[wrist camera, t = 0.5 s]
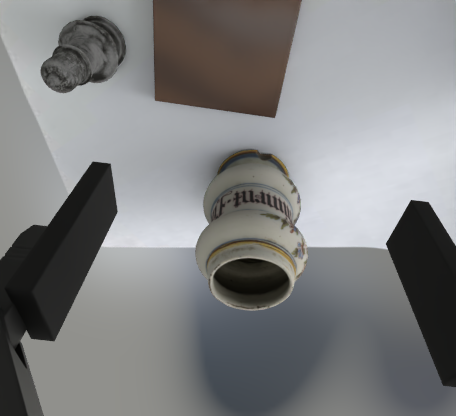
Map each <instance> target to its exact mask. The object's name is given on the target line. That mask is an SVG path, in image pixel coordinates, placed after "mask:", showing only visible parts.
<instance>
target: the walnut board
mask: <svg viewBox="0 0 456 416" xmlns="http://www.w3.org/2000/svg"><path fill="white" fill-rule="evenodd" d="M301 1H302V0H153V19H154V72H155V101H162V102H169V103H176V104H183V105H189V106H196V107H203V108H210V109H217V110H224V111H231V112H238V113H245V114H251V115H258V116H265V117H272V118H275V116H276V111H277V107H278V102H279V98H280V94H281V89H282V85H283V80H284V76H285V72H286V67H287V63H288V58H289V54H290V50H291V45H292V41H293V36H294V32H295V28H296V23H297V19H298V14H299V10H300V6H301Z"/></svg>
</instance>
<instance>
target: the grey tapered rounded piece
mask: <svg viewBox="0 0 456 416" xmlns="http://www.w3.org/2000/svg"><path fill="white" fill-rule="evenodd" d="M58 43H59V46H58V47H57V48H56V49H55V50H54V52H53V55H52V57H51V58H49V59H47V60H46V61H45V62H44V63H43V65H42V67H41V76H42V78H43V80H44V82H45V83H46V85H47V86H48V87H50V88H51V89H52V90H54V91H56V92H59V93H67V92H70V91H72V90H73V89H74V88H75V87H76V86H78V85H84V84H86V83H88V82H92V83H101V82H104V81H107V80H108V79H110V78H111V77H112V76H113V75H114V73H115V72H116V70H117V67H118V65H119V64H120V63H121V62H122V61H123V59H124V56H125V49H126V46H125V42H124V38H123V36H122V34H121V32H120V31H119V30H118V28H117V27H116V26H115V25H114V24H113V23H112V22H111V21H109V20H107V19H105V18H102V17H99V16H90V17H88V18H85V19H84V20H76V21H73V22H70V23H68V24H67V25H66V26H65V27H64V28H63V29H62V31H61V33H60V35H59V41H58Z"/></svg>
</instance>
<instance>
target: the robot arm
mask: <svg viewBox="0 0 456 416" xmlns="http://www.w3.org/2000/svg"><path fill="white" fill-rule="evenodd" d="M117 212H118V211H117V205H116V198H115V191H114V184H113V177H112V171H111V164H108V163H100V162H92V163H91V165H90V166H89V168H88V169H87V171H86V172H85V173H84V175H83V176H82V178H81V179H80V181H79V182H78V183H77V185H76V186H75V188H74V189H73V191H72V192H71V193H70V195H69V196H68V198H67V199H66V201H65V202H64V204H63V205H62V206H61V208H60V209H59V211H58V212H57V213H56V215H55V216H54V218H53V219H52V221H51V222H50V224H49V225H48V226H40V225H33V226H31V227H30V228H28V229H27V230H26V231H24V232H23V233H21V234H20V235H19V237H18V238H17V239H16V241H15V242H14V243H13V245H12V247H10V248H9V250H8V251H7V252H6V253H5V256H4V257H2V259H1V260H0V416H44V415H43V412H42V409H41V405H40V402H39V398H38V396H37V392H36V389H35V385H34V382H33V379H32V375H31V372H30V369H29V365H28V362H27V359H26V355H25V352H24V349H23V346H22V343H21V342H20V340H21V338H22V337H23V335H24V333H25V331H26V330H27V332H28V333H29V335H30V337H31V339H38V340H47V341H55V339H56V337H57V335H58V333H59V331H60V329H61V327H62V325H63V323H64V321H65V318H66V316H67V314H68V312H69V310H70V308H71V306H72V304H73V302H74V300H75V298H76V296H77V294H78V292H79V290H80V288H81V286H82V284H83V282H84V280H85V277H86V276H87V273H88V271H89V269H90V267H91V265H92V263H93V261H94V259H95V257H96V255H97V253H98V251H99V249H100V247H101V245H102V243H103V241H104V239H105V237H106V235H107V233H108V231H109V229H110V226H111V224H112V222H113V220H114V218H115V216H116V214H117ZM386 245H387V248H388V250H389V253H390V255H391V258H392V260H393V263H394V265H395V267H396V270H397V273H398V275H399V278H400V280H401V282H402V285H403V287H404V290H405V292H406V295H407V297H408V299H409V302H410V305H411V307H412V310H413V312H414V314H415V317H416V319H417V322H418V324H419V327H420V329H421V332H422V334H423V337H424V339H425V342H426V344H427V346H428V349H429V352H430V354H431V357H432V359H433V361H434V364H435V367H436V369H437V371H438V374H439V376H440V379H441V381H442V384H443V386H451V387H456V246H455V244H454V242H453V241H452V239H451V238H450V236H449V234H448V233H447V231H446V230H445V228H444V226H443V225H442V223H441V222H440V220H439V218H438V217H437V215H436V213H435V212H434V210H433V209H432V207H431V205H430V204H429V202H423V201H415V200H411V201H410V203H409V205H408V206H407V208H406V210H405V212H404V213H403V215H402V217H401V219H400V220H399V222H398V224H397V225H396V227H395V229H394V231H393V232H392V234H391V236H390V238H389V239H388V241H387V243H386Z"/></svg>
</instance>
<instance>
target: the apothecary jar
mask: <svg viewBox="0 0 456 416" xmlns="http://www.w3.org/2000/svg"><path fill="white" fill-rule="evenodd" d="M203 207H204V213H205V217H206V219H207V221H208V223H209V225H208V226H207V227H206V228H205V229H204V230H203V232H202V233H201V235H200V237H199V239H198V241H197V244H196V250H195V254H196V261H197V264H198V267H199V269H200V271H201V273H202V274H203V275H204V277H205V278H206V279H207V280H208V284H209V288H210V291H211V293H212V294H213V296H214V297H215V298H216V299H218V300H219V301H221V302H222V303H224V304H226V305H228V306H230V307H233V308H237V309H242V310H262V309H266V308H270V307H273V306H275V305H278V304H280V303H281V302H283V301H284V300H285V299H286V298H287V297H288V296H289V295H290V294H291V292H292V290H293V287H294V282H295V281H297V279H298V278H299V277H300V276H301V274H302V273H303V271H304V269H305V266H306V263H307V258H308V250H307V245H306V242H305V239H304V237H303V235H302V234H301V232H300V231H299V230H298V229H297V228H296V227H295V226H294V225H295V224H296V222H297V220H298V218H299V215H300V210H301V201H300V196H299V193H298V190H297V188H296V186H295V185H294V183H293V182H292V181H291V180H290V179H289V175H288V172H287V169H286V167H285V166H284V164H283V163H282V162H281V161H280V160H279V159H278V158H277V157H275V156H274V155H272V154H261V153H259V152H258V151H257V150H245V151H240V152H238V153H235V154H233V155H232V156H230V157H229V158H227V159H226V160H225V161H224V162H223V163H222V165H221V166H220V168H219V171H218V174H217V176H216V177H215V178H214V179H213V180H212V182H211V183H210V184H209V186H208V188H207V190H206V192H205V195H204V202H203Z"/></svg>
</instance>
